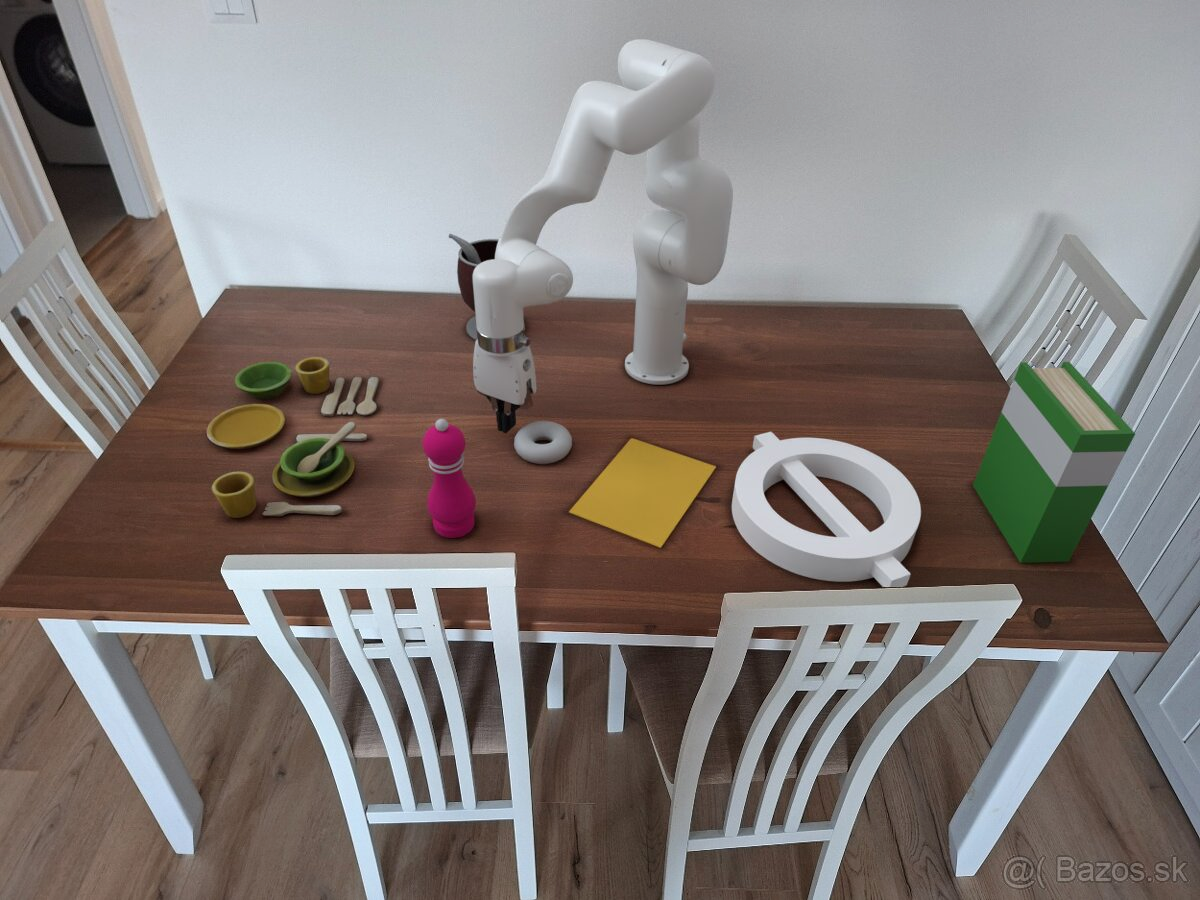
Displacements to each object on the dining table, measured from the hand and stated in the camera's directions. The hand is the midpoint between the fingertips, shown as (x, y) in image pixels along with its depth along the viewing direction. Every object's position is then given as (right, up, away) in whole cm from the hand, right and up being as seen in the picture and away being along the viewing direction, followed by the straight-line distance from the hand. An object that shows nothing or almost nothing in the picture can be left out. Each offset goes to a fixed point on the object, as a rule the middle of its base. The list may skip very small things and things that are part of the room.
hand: (506, 427), depth 145 cm
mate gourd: (-7, +22, +31) cm, 38 cm away
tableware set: (-38, -3, -1) cm, 38 cm away
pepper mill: (-6, -16, -17) cm, 24 cm away
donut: (+6, -4, -1) cm, 8 cm away
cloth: (+24, -10, -10) cm, 27 cm away
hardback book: (+82, -15, -14) cm, 85 cm away
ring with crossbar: (+51, -14, -14) cm, 55 cm away
